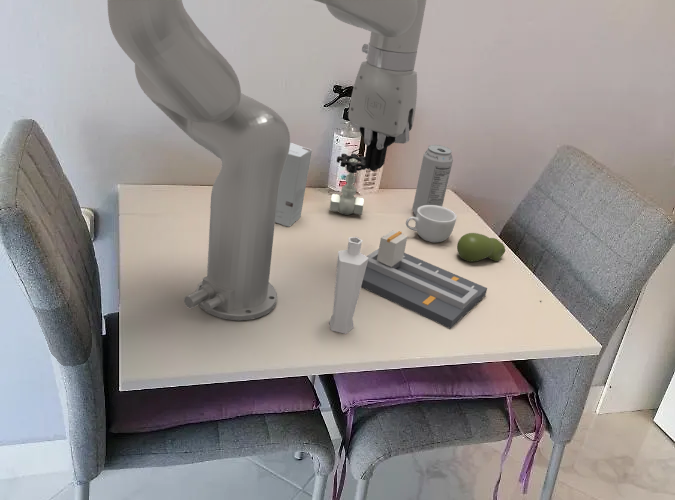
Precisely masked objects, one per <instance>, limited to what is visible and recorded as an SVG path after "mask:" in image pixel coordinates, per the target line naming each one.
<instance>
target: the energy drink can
mask: <svg viewBox="0 0 675 500" xmlns="http://www.w3.org/2000/svg"><path fill="white" fill-rule="evenodd" d="M452 152H453V151H452V149H451V148H449V147H448V146H445V145H441V144H430V145H428V147H427V149H426V151H424V153H423V156H422V159H421V160H422V161H421V166H420V169H419V170H420V171H419V174H418V180H417V185H416V190H415V195H414V200H413V204H412V212H413V215H414V217H416V215H417V209H418V208H419V207H420V206H423V205H437V206H442V207H444V205H443V204H444V200H445V196H446V192H447V188H448V183H449V178H450V174H451V170H452V166H453V161H454V158H453V155H452Z"/></svg>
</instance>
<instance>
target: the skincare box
mask: <svg viewBox="0 0 675 500" xmlns="http://www.w3.org/2000/svg"><path fill="white" fill-rule="evenodd" d="M312 152H313V151H312V149H311V148H308V147H305V146H301V145H299V144H296V143H293V142H290V148H289V153H288V156H287V159H286V162H285V165H284V168H283V171H282V175H281V179H280V184H279V190H278V197H277V205H276V216H275V224H276V223H277V224H279V225H282V226H285V227H291V226H292V225H293V224H295V223H296V222H297V221H298V220H299V219H300V218H301V217H302V211H303V204H304V198H305V194H306V193H305V192H306V187H307V182H308V175H309V169H310V163H311V159H312V157H311V156H312ZM295 221H296V222H295Z"/></svg>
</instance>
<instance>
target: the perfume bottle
mask: <svg viewBox="0 0 675 500" xmlns="http://www.w3.org/2000/svg"><path fill="white" fill-rule="evenodd" d="M347 240H348V244H347V248H346V249H342V250H338V251H337V260H336V273H335V282H334V283H335V285H334V286H335V287H334V295H333V308H332V315H331V317H330V319H329V328H330V331H333V332H335V333H336V332H337V333H342V334H345V335H346V334H348V333H349V332H350V331H352V330H353V329H354V326H355V325H354V315H355V312H356V308H357V304H358V300H359V296H360V292H361V289H362V287H361V285H362V282H363V278H364V274H365V270H366V266H367V263H368V259H369V258H368V257H367V256H368V255H365V254H364V253H362V252H361V248H362V243H363V239H361V238H359V237H357V236H349V237H348V238H347Z"/></svg>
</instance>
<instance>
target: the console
mask: <svg viewBox="0 0 675 500" xmlns="http://www.w3.org/2000/svg"><path fill="white" fill-rule="evenodd" d="M378 251H379V248H377V249H376V250H374V251H373V252H371V253H369V254H368V255H366V256H367V257H368V258H369V259H368V263H367V266H366V270H365V274H364V278H363V282H362V285H361V288H363V289H365V290H368V291H369V292H371V293H374V294H376V295H378V296H380V297H382V298H384V299H387V300H389V301H391V302H393V303H394V304H397V305H400V306H401V307H404V308H405V309H407V310H409V311H413V312H414V313H416V314H418V315H421V316H423V317H425V318H427V319H430V321H431V320H432V321H433V322H435V323H438V324H440V325H442V326H444V327H447V328H448V329H452V328H453V327H454V326H455V325H456V324H457V323H458V322H459V321H460V320H461V319H462V318H463V317H464V316H465V315H467V313H469V311H471V310H472V309H473V308H474V307H475V306H476V305H477V304H478V303H479V302H480V301H481V300H482V299H484V298H485V297H486V296H487V295H486V294H487V292H488V287H485V286H483V285H481V284H478V283H476V282H474V281H471V280H470V279H467V278H465V277H463V276H459V275H457V274H455V273H453V272H451V271H449V270H446V269H443V268H442V267H439V266H436V265H434V264H432V263H430V262H427V261H425V260H422V259H420V258H418V257H415V256H413V255H411V254H409V253H406V252H404V256H403V259H402V260H401V261H400V263H399V267H397V268H396V269H394V268H392V267H390V266H388V265H385V264H383V263H381V262H379V261H377V256H378Z"/></svg>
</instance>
